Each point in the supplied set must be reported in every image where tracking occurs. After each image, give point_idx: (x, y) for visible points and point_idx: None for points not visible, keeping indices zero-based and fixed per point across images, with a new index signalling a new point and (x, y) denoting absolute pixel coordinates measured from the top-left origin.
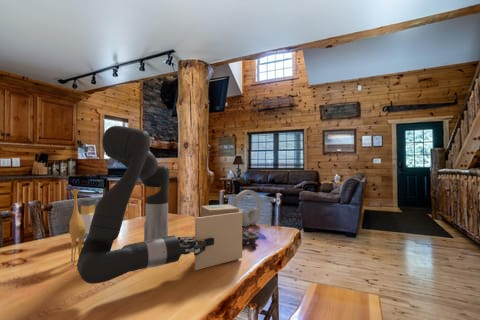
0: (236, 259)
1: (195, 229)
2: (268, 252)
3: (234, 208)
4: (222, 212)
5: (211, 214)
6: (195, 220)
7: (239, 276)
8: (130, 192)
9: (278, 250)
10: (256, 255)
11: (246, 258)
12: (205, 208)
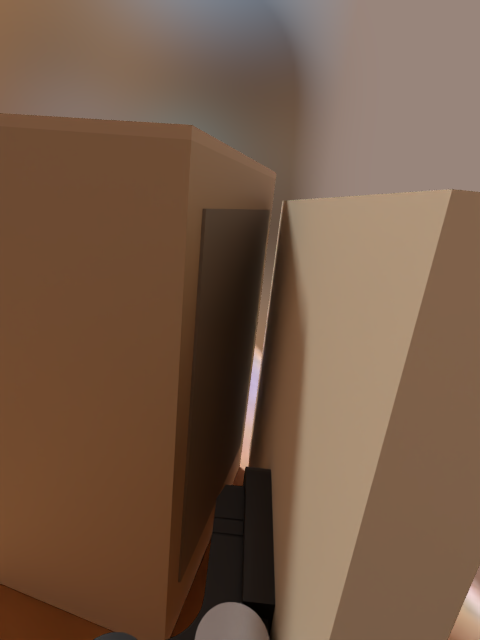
0: (237, 471)
1: (360, 624)
2: (253, 372)
3: (268, 169)
4: (242, 188)
5: (200, 195)
6: (444, 327)
7: (474, 619)
8: None
9: (259, 354)
10: (249, 402)
11: (250, 438)
12: (30, 118)
